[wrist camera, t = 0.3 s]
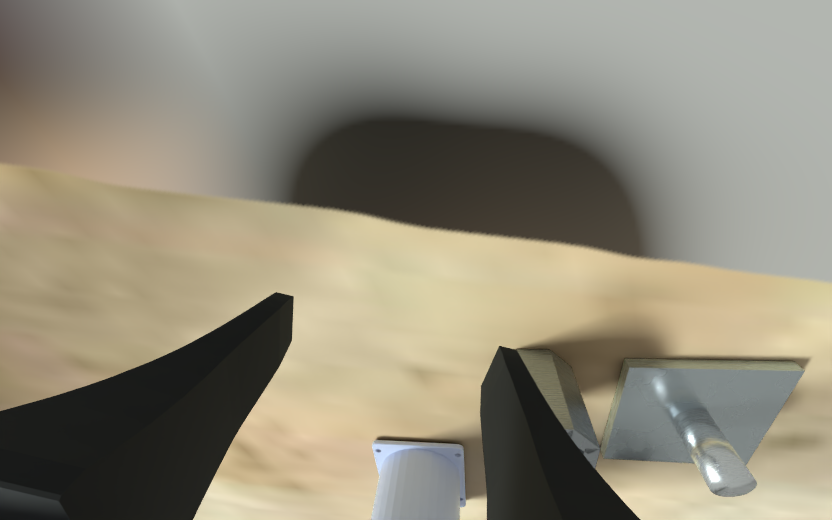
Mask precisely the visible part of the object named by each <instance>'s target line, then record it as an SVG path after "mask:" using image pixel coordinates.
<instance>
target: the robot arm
mask: <svg viewBox="0 0 832 520" xmlns="http://www.w3.org/2000/svg"><path fill="white" fill-rule="evenodd" d="M293 297H294V296H290V295H285V294H281V293H277V292H276V293H274V294H272V295H271V296H269V297H267V298H266V299H264V300H263V301H261V302H260V303H258V304H256V305H255V306H253V307H252V308H250V309H249V310H247V311H245V312H244V313H242V314H241V315H239V316H237V317H236V318H234V319H232V320H231V321H229V322H227V323H226V324H224V325H222V326H221V327H219V328H217V329H215V330H214V331H212V332H210V333H208V334H206V335H204V336H203V337H201V338H199V339H197V340H195V341H193V342H192V343H190V344H188V345H186V346H184V347H182V348H180V349H178V350H175V351H173V352H171V353H169V354H167V355H165V356H162V357H160V358H158V359H156V360H153V361H151V362H149V363H146V364H144V365H141V366H139V367H136V368H133V369H131V370H128V371H126V372H123V373H121V374H118V375H116V376H113V377H111V378H108V379H105V380H102V381H99V382H96V383H93V384H91V385H88V386H85V387H82V388H79V389H75V390H72V391H69V392H66V393H63V394H60V395H56V396H53V397H50V398H46V399H43V400H39V401H36V402H32V403H28V404H25V405H21V406H18V407H14V408H10V409H7V410H3V411H0V520H193V518H194V516H195V514H196V512H197V510H198V508H199V506H200V504H201V502H202V500H203V498H204V496H205V494H206V492H207V490H208V488H209V486H210V484H211V482H212V480H213V478H214V476H215V474H216V472H217V470H218V468H219V466H220V464H221V462H222V460H223V458H224V456H225V454H226V452H227V450H228V448H229V446H230V445H231V443H232V441H233V439H234V437H235V435H236V434H237V432H238V430H239V429H240V427H241V425H242V424H243V422H244V421H245V419H246V417H247V416H248V414H249V413H250V411H251V410H252V408H253V407H254V405H255V404H256V402H257V400H258V399H259V397H260V396H261V394H262V393H263V391H264V390H265V388H266V387H267V385H268V383H269V382H270V380H271V379H272V377H273V376H274V374H275V372H276V371H277V369H278V368H279V366H280V364H281V362H282V360H283V358H284V356H285V354H286V352H287V350H288V347H289V345H290V343H291V341H292V322H293ZM480 417H481V429H482V441H483V452H484V463H485V474H486V488H487V520H640V519H639V518H638V517H637V516H636V515H635V514H634V513H633V511H632V510H631V509H630V508H629V507H628V506H627V505H626V504H625V503H624V502H623V501H622V500H621V499H620V497H619V496H618V495H617V494H616V493H615V492H614V491H613V490H612V488H611V487H610V486H609V485H608V484H607V483H606V482H605V480H604V479H603V478H602V477H601V476H600V475H599V473H598V472H597V471H596V470H595V469H594V467H593V466H592V465H591V464H590V462H589V461H588V460H587V458H586V457H585V456H584V455H583V453H582V452H581V451H580V449H579V448H578V447H577V446H576V444H575V443H574V441H573V440H572V439H571V437H570V436H569V435H568V433H567V432H566V430H565V429H564V427H563V426H562V424H561V423H560V421H559V420H558V419H557V417H556V416H555V414H554V412H553V411H552V409H551V408H550V406H549V404H548V403H547V401H546V400H545V398H544V396H543V395H542V393H541V391H540V390H539V388H538V386H537V385H536V383H535V381H534V379H533V378H532V376H531V374H530V372H529V371H528V369H527V367H526V365H525V364H524V362H523V360H522V358H521V357H520V355H519V353H518V351H517V350H514V349H510V348H506V347H502V346H499V348H498V350H497V352H496V355H495V357H494V359H493V361H492V363H491V366H490V368H489V370H488V372H487V374H486V377H485V379H484V381H483V383H482V385H481V408H480ZM372 448H373V452H374V456H375V460H376V464H377V469H378V473H379V481H378V486H377V491H376V496H375V501H374V506H373V511H372V516H371V520H460V507H464V506H465V505H466V497H465V471H464V448H463V446H462V445H460V444H446V443H427V442H408V441H389V440H375V441H373V444H372Z"/></svg>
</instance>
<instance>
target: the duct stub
mask: <svg viewBox="0 0 832 520" xmlns="http://www.w3.org/2000/svg"><path fill="white" fill-rule="evenodd" d="M804 372H805V371H804V370H803V369H802V368H801V367H800V366H799V365H798V364H797V363H796V362H794V361H745V360H684V359H624V363H623V366H622V370H621V374H620V377H619V381H618V385H617V388H616V392H615V396H614V400H613V403H612V407H611V411H610V414H609V418H608V422H607V425H606V429H605V433H604V436H603V440H602V444H601V447H600V450H601V453H602V455H603V458H605V459H623V460H642V461H660V462H678V463H695V464H696V466H697V468H698V470H699V471H700V473H701V475H702V477H703V478H704V480H705V482H706V484H707V485H708V487H709V489H710V490H711V492H712V493H714V494H716V495H719V496H724V497H734V496H740V495H744V494H747V493H749V492H751V491H752V490H753V489H754V488H755V487H756V485H757V482H756V480H755V479H754V477H753V476H752V474H751V473H750V471H749V470H748V468H747V467H746V464H747V463H748V461H749V459H750V458H751V456H752V455H753V453H754V451H755V450H756V448H757V447H758V445H759V443H760V442H761V440H762V439H763V437H764V435H765V434H766V432H767V431H768V429H769V427H770V426H771V424H772V423H773V421H774V420H775V418H776V416H777V415H778V413H779V412H780V410H781V408H782V407H783V405H784V404H785V402H786V400H787V399H788V397H789V396H790V394H791V392H792V391H793V389H794V388H795V386H796V384H797V383H798V381H799V380H800V378H801V376H802V375H803V373H804Z"/></svg>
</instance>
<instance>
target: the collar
mask: <svg viewBox="0 0 832 520" xmlns="http://www.w3.org/2000/svg"><path fill="white" fill-rule="evenodd" d="M516 350H517V351H518V353H519V355H520V357H521V358H522V360H523V362H524V364H525V365H526V367H527V369H528V371H529V372H530V374H531V376H532V378H533V379H534V381H535V383H536V385H537V386H538V388H539V390H540V391H541V393H542V395H543V396H544V398H545V400H546V401H547V403H548V404H549V406H550V408H551V409H552V411H553V412H554V414H555V416H556V417H557V419H558V420H559V421H560V423H561V424H562V426H563V427H564V429H565V430H566V432H567V433H568V435H569V436H570V437H571V439H572V440H573V441H574V443H575V444H576V446H577V447H578V448H579V449H580V451H581V452H582V453H583V455H584V456H585V457H586V458H587V460H588V461H589V462H590V464H591V465H592V466H593V467H594V469H595V467H596V463H597V460H598V456H599V452H600V447H599V444H598V441H597V438H596V435H595V432H594V430H593V427H592V424H591V421H590V418H589V415H588V413H587V410H586V407H585V404H584V401H583V398H582V396H581V393H580V390H579V387H578V384H577V381H576V378H575V376H574V373H573V370H572V367H571V366H570V365H568V364H567V363H566V362H565V361H563V360H562V359H561V358H560V357H558V356H557V355H556V354H555V353H553V352H552V351H551V350H531V349H516Z"/></svg>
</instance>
